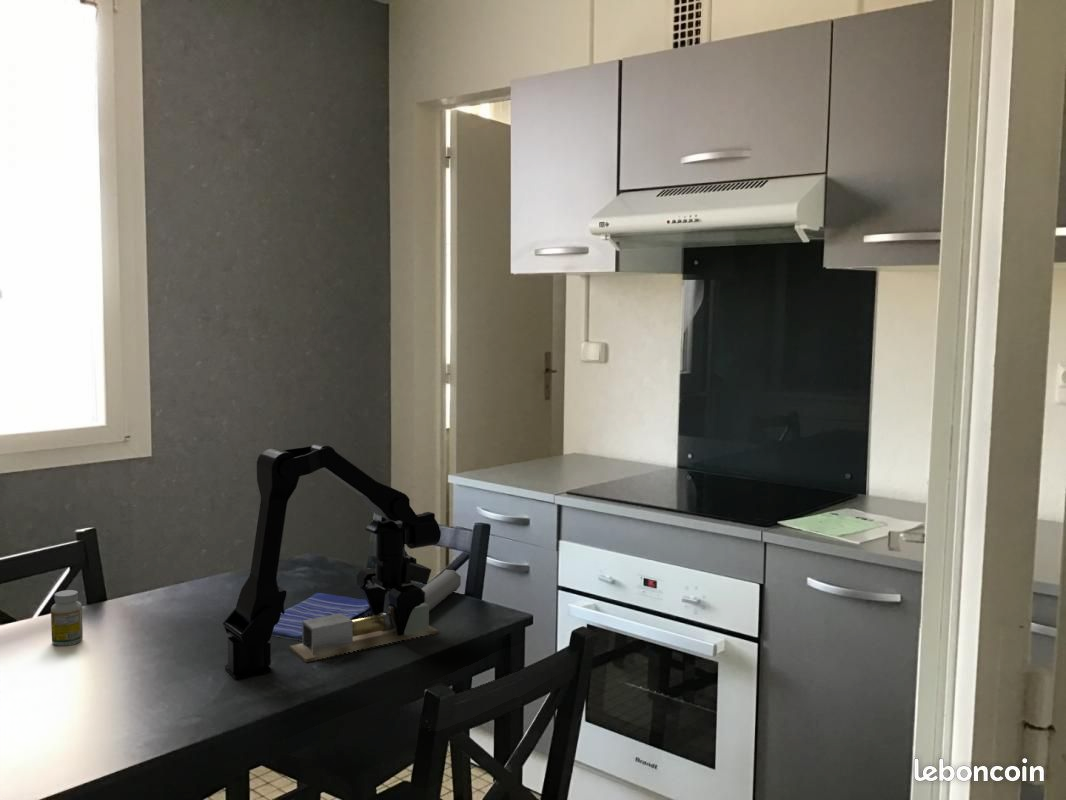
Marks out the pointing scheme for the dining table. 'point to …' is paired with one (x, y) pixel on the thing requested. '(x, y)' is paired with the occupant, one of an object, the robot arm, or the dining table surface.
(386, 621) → the tube
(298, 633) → the dish towel
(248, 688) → the dining table surface
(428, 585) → the tube
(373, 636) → the mounting board
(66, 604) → the supplement bottle
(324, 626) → the sleeve
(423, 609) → the socket
